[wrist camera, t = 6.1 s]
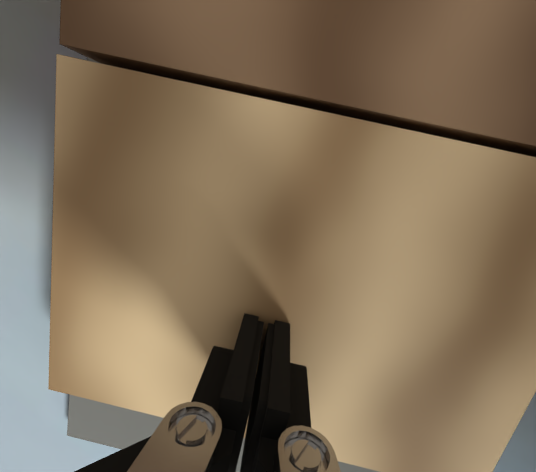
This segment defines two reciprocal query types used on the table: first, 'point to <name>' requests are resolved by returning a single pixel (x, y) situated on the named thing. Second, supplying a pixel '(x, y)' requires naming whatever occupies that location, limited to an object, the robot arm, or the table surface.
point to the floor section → (323, 82)
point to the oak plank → (293, 263)
